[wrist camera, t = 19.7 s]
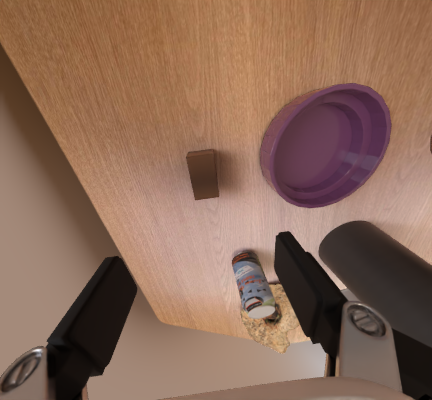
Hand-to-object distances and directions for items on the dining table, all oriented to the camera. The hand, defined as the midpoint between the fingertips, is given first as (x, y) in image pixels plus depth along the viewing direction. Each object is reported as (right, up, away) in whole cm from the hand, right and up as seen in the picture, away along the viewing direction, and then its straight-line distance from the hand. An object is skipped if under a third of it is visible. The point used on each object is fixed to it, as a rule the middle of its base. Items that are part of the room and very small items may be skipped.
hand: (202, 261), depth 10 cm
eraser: (-1, +9, +18) cm, 20 cm away
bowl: (+17, +12, +18) cm, 27 cm away
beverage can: (+8, -10, +29) cm, 31 cm away
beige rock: (+15, -25, +36) cm, 46 cm away
